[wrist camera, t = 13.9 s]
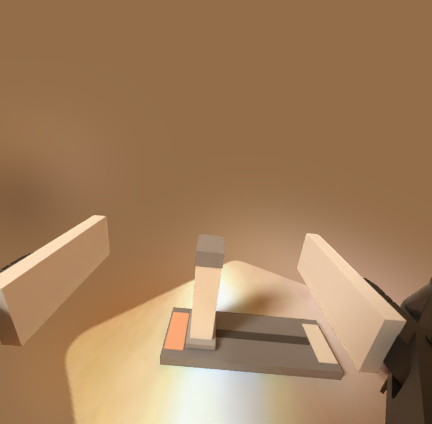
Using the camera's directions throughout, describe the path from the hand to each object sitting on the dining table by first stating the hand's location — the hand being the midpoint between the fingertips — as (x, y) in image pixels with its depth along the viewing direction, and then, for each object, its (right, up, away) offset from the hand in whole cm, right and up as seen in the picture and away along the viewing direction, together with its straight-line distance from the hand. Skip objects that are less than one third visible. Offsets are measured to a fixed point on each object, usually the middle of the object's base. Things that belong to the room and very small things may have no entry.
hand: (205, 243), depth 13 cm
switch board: (+5, -18, +17) cm, 25 cm away
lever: (-1, -15, +16) cm, 22 cm away
